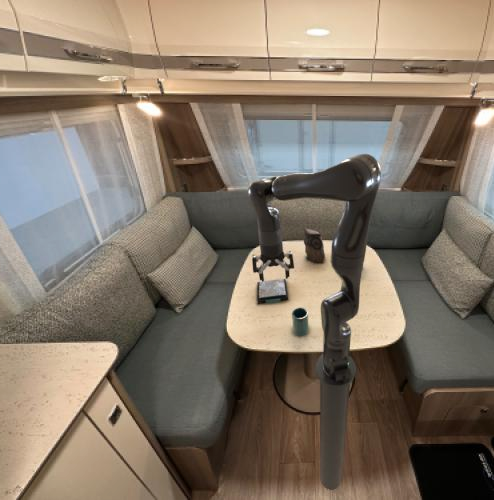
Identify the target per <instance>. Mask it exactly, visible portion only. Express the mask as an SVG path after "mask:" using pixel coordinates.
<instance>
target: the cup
mask: <svg viewBox="0 0 494 500" xmlns="http://www.w3.org/2000/svg"><path fill="white" fill-rule="evenodd" d="M291 319H292V331H293V333H294V335H296V336H298V337H303V336H306V335H307V334H308V333H309V330H310V329H309V312H308V310H307V309H306V308H304V307H296V308H294V309H293V310H292V311H291Z"/></svg>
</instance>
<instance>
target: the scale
mask: <svg viewBox="0 0 494 500" xmlns="http://www.w3.org/2000/svg"><path fill="white" fill-rule="evenodd" d="M256 284H257V285H256V287H257V288H256V291H257V292H256V293H257V294H256V295H257V296H256V300H257V305H262V304H273V303H278V302H284V301H285V302H286V301H289V293H288V287H287V279H286V278H279V279H270V280H264V282H262V281H257V282H256Z"/></svg>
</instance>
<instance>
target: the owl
mask: <svg viewBox="0 0 494 500" xmlns="http://www.w3.org/2000/svg"><path fill="white" fill-rule="evenodd" d="M303 230H304V239H303V244H304V252H305V254H306V257H305V259H306V260H307V261H308V262H309V261H310V263H313V264H324V263H325V255H326V254H325V249H324V248H325V245H324V242H323V237H322V234H321V233H319V232H318V231H317V230H314V229H309V228H306V227H304V229H303Z"/></svg>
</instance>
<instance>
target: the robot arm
mask: <svg viewBox="0 0 494 500" xmlns="http://www.w3.org/2000/svg"><path fill="white" fill-rule="evenodd" d="M381 180H382V170H381V165H380V163H379V162H378V160H377V159H376V158H375V156H373V155H372V154H370V153H359V154H357V155H354V156H350V157H348V158H345V159H343V160H342V161H340V162H338V163H337V164H335V165H332V166H331V167H328V168H326V169H323V170H320V171H318V172H311V173H306V172H296V173H290V174H285V175H279V176H269V177H266V178H263V179H259V180H256V181H252V182H251V183H250V184H249V186H248V188H247V198H248V200H249V202H250V205H251V206H252V209H253V211H254V214H255V216H256V220H257V228H258V230H257V231H258V233H257V234H258V241H259V250H260V255H256V254H252V256H251V263H252V272H253V273H254V274H256V273H257V274H258V276H259V281H261V282H264V281H265V275H264V271H265V270H266V269H267V268H268V267H269V268H272V267H278V266H280V267H281V268H282V269H284V275H285V279H286V280H288V279H289V278H290V270H291V269H292V270H293V269H295V263H294V255H293V251H292V250H289V251H288V252H284V245H283V234H282V233H283V232H282V227H281V218H280V211H279V210H278V209H277V208H276V207H275V208H274V207H269V206H268V204H270V203H272V202H275V201H281V202H292V201H303V200H329V201H334V202H335V201H338V202H345V207H344V211H343V214H342V216H341V218H340V221H339V223H338V225H337V227H336V230H335V232H334V235H333V238H332V241H331V247H330V248H331V249H330V265H331V267H332V269H333V272H334V273H335V274H336V275H337V277H339V279H340V281H341V285H340V289H339V291H338V292H336V293H334V294H332V295H330V296H328V297H326V298H323V299H322V300H321V303H320V317H321V319H320V320H321V328H322V333H323V335H322V336H323V337H322V339H323V343H322V344H323V345H322V347H323V348H322V349H323V350H322V351H323V352H322V354H323V370H324V372H325V373H326V374H327V375H328V376H329V377H330V379H336V381H340V380H343V381H344V383H346V379H351V374H352V372H351V370H350V367H349V356H350V350H351V349H350V348H351V339H352V329H351V326H350V324H349V323H348V322H349V321H351V320H352V319H354V318H355V317H356V316H357V315H358V314H359V309H360V295H361V293H360V292H361V291H360V290H361V282H362V273H363V268H364V263H365V258H366V253H367V252H366V251H367V244H368V238H369V233H370V225H371V218H372V214H373V209H374V206H375V202H376V199H377V195H378V192H379V189H380V185H381ZM285 258H286V259H287V260H289V263H288V262H286V261H285V260H284V259H285ZM260 261H261V264H260V266H259V267H258V266H257V265H258V263H259V262H260Z"/></svg>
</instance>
